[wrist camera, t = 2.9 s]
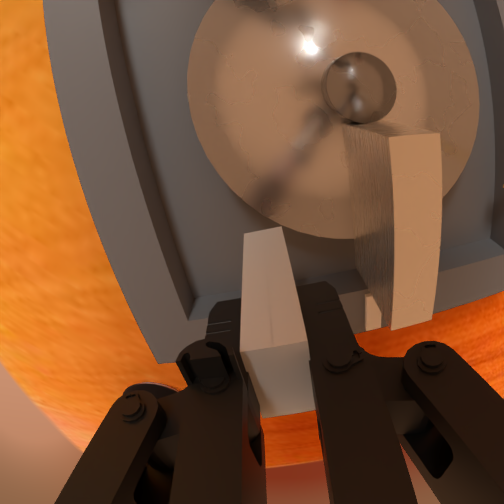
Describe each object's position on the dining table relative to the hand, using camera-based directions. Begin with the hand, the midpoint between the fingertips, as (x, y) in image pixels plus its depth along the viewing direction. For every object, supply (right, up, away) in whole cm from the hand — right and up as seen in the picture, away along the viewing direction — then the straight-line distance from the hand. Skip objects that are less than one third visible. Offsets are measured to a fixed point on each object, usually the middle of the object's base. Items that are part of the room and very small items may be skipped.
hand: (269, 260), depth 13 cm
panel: (+4, +9, +1) cm, 9 cm away
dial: (+4, +7, +1) cm, 8 cm away
